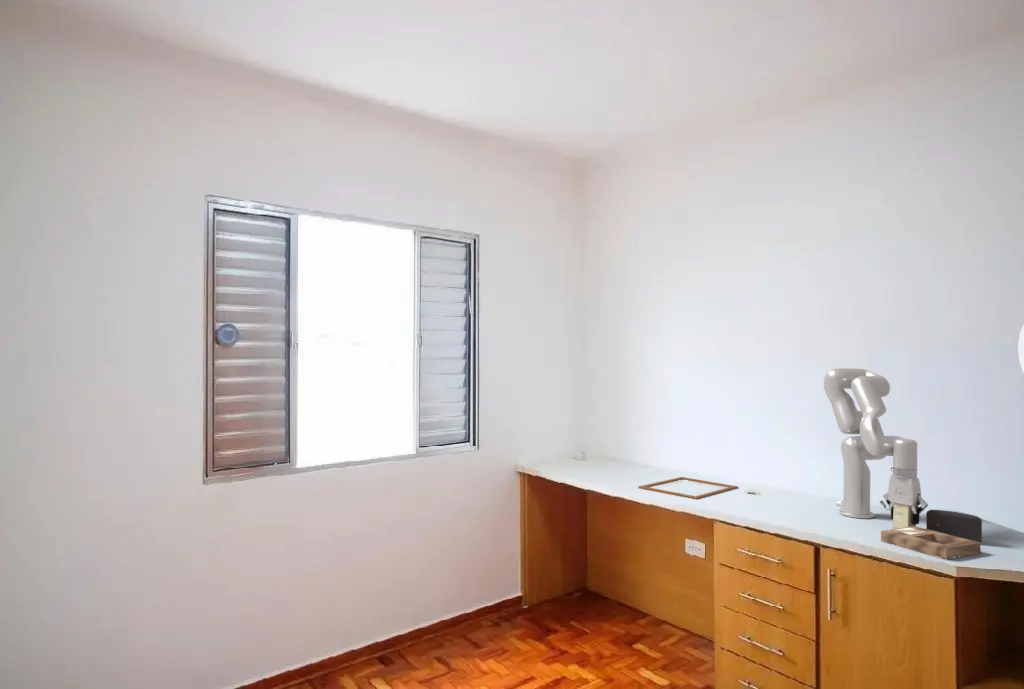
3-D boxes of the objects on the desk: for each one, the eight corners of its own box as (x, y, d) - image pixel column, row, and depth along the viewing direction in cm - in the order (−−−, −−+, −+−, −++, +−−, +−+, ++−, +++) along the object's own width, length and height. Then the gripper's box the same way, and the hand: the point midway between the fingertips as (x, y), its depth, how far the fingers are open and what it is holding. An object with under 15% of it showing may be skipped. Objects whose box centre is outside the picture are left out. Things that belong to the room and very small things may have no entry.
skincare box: (892, 530, 241) (892, 497, 241) (900, 529, 243) (901, 496, 243) (908, 534, 235) (908, 500, 236) (916, 533, 237) (917, 499, 237)
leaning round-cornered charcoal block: (983, 542, 227) (983, 515, 227) (981, 545, 223) (981, 517, 223) (928, 533, 237) (928, 507, 238) (925, 536, 234) (926, 509, 234)
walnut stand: (880, 541, 226) (881, 530, 226) (914, 535, 234) (914, 525, 234) (946, 559, 206) (946, 547, 206) (980, 553, 214) (980, 541, 214)
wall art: (638, 486, 310) (681, 476, 336) (638, 489, 310) (681, 479, 336) (696, 497, 288) (738, 486, 314) (696, 500, 288) (738, 489, 314)
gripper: (876, 469, 246) (875, 517, 246) (922, 477, 230) (921, 528, 230) (889, 468, 249) (889, 515, 249) (935, 476, 233) (935, 526, 233)
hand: (904, 521), depth 239 cm, fingers open, 7 cm apart
